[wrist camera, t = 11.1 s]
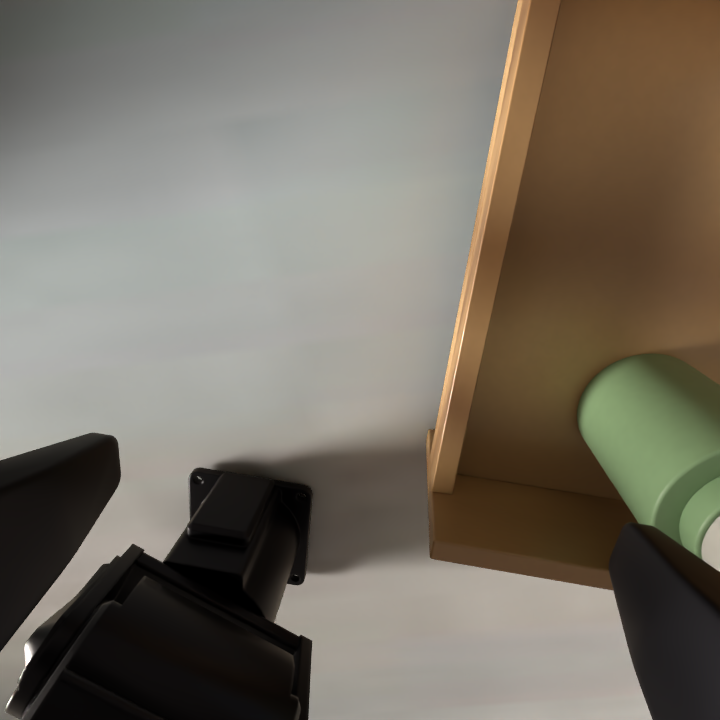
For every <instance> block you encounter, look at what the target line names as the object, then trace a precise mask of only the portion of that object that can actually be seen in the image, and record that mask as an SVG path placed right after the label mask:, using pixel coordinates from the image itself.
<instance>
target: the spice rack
mask: <svg viewBox="0 0 720 720" xmlns="http://www.w3.org/2000/svg"><path fill="white" fill-rule="evenodd" d="M640 354H664V355H669V356H672V357H675V358H678V359H680V360H682V361H684V362H686V363H687V364H689V365H690V366H692V367H693V368H695V369H696V370H698V371H700V372H701V373H703V374H704V375H706V376H707V377H709V378H710V379H712V380H713V381H715V382H716V383H718V384H719V385H720V0H518V3H517V8H516V14H515V19H514V24H513V29H512V34H511V39H510V45H509V50H508V55H507V60H506V65H505V71H504V76H503V81H502V86H501V91H500V96H499V102H498V107H497V112H496V117H495V122H494V127H493V133H492V138H491V143H490V148H489V153H488V159H487V164H486V169H485V174H484V179H483V184H482V190H481V195H480V200H479V205H478V210H477V216H476V221H475V226H474V231H473V236H472V241H471V247H470V252H469V257H468V262H467V267H466V272H465V278H464V283H463V288H462V293H461V298H460V304H459V309H458V314H457V319H456V324H455V329H454V335H453V340H452V345H451V350H450V355H449V361H448V366H447V371H446V376H445V381H444V386H443V392H442V397H441V402H440V407H439V412H438V417H437V423H436V428H435V430H432V429H429V430H428V434H427V440H426V456H427V487H428V518H429V549H430V558H431V559H435V560H441V561H447V562H452V563H458V564H464V565H470V566H475V567H481V568H487V569H493V570H499V571H504V572H510V573H516V574H522V575H527V576H533V577H539V578H545V579H551V580H556V581H562V582H568V583H574V584H579V585H585V586H591V587H597V588H603V589H608V590H613V586H612V582H611V579H610V574H609V559H610V556H611V554H612V551H613V549H614V546H615V544H616V541H617V539H618V536H619V534H620V531H621V529H622V527H623V526H624V525H625V524H626V523H629V522H634V523H638V522H637V520H636V519H635V517H634V515H633V514H632V512H631V511H630V509H629V508H628V506H627V505H626V503H625V502H624V500H623V499H622V497H621V496H620V494H619V492H618V491H617V489H616V488H615V486H614V485H613V483H612V482H611V480H610V479H609V477H608V476H607V474H606V472H605V471H604V469H603V468H602V466H601V465H600V463H599V462H598V460H597V459H596V457H595V456H594V454H593V453H592V451H591V449H590V448H589V446H588V445H587V443H586V442H585V440H584V439H583V437H582V435H581V433H580V431H579V428H578V423H577V408H578V404H579V400H580V398H581V395H582V393H583V391H584V389H585V388H586V386H587V385H588V383H589V382H590V381H591V380H592V379H593V378H594V377H595V376H596V375H597V374H598V373H599V372H600V371H601V370H603V369H604V368H606V367H607V366H609V365H610V364H612V363H614V362H616V361H618V360H621V359H623V358H626V357H630V356H634V355H640Z"/></svg>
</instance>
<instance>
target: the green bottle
mask: <svg viewBox="0 0 720 720" xmlns="http://www.w3.org/2000/svg"><path fill="white" fill-rule="evenodd" d="M577 423H578V428H579V431H580V433H581V435H582V437H583V439H584V440H585V442H586V443H587V445H588V446H589V448H590V449H591V451H592V453H593V454H594V456H595V457H596V459H597V460H598V462H599V463H600V465H601V466H602V468H603V469H604V471H605V472H606V474H607V476H608V477H609V479H610V480H611V482H612V483H613V485H614V486H615V488H616V489H617V491H618V492H619V494H620V496H621V497H622V499H623V500H624V502H625V503H626V505H627V506H628V508H629V509H630V511H631V512H632V514H633V515H634V517H635V519H636V520H637V522H638V523H640V524H646V525H651V526H654V527H656V528H658V529H659V530H660V531H662V532H663V533H665V534H666V535H668V536H669V537H670V538H672V539H673V540H675V541H676V542H678V543H679V544H680V545H682V546H683V547H685V548H686V549H688V550H689V551H690V552H692V553H693V554H695V555H696V556H698V557H699V558H700V559H702V560H703V561H705V562H706V563H708V564H709V565H710V566H712V567H713V568H715V569H716V570H718V571H719V572H720V385H719V384H718V383H716V382H715V381H713V380H712V379H710V378H709V377H707V376H706V375H704V374H703V373H701V372H700V371H698V370H696V369H695V368H693V367H692V366H690V365H689V364H687V363H686V362H684V361H682V360H680V359H678V358H675V357H672V356H669V355H664V354H640V355H634V356H630V357H626V358H623V359H621V360H618V361H616V362H614V363H612V364H610V365H609V366H607V367H606V368H604V369H603V370H601V371H600V372H599V373H598V374H597V375H596V376H595V377H594V378H593V379H592V380H591V381H590V382H589V383H588V385H587V386H586V388H585V389H584V391H583V393H582V395H581V398H580V400H579V404H578V408H577Z"/></svg>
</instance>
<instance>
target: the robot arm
mask: <svg viewBox="0 0 720 720" xmlns="http://www.w3.org/2000/svg"><path fill="white" fill-rule="evenodd" d="M197 476H199V477H201V478H202V480H200V479H199V478H198V477H197ZM120 477H121V470H120V459H119V448H118V442H117V440H116V438H115V437H113V436H111V435H105V434H99V433H89V434H86V435H82V436H79V437H76V438H72V439H69V440H66V441H63V442H59V443H56V444H53V445H50V446H46V447H43V448H40V449H36V450H33V451H30V452H27V453H23V454H20V455H17V456H14V457H10V458H7V459H4V460H0V652H1V650H2V649H3V648H4V646H5V645H6V644H7V642H8V641H9V640H10V639H11V637H12V636H13V635H14V633H15V632H16V631H17V630H18V628H19V627H20V626H21V624H22V623H23V622H24V621H25V619H26V618H27V617H28V615H29V614H30V613H31V612H32V610H33V609H34V608H35V606H36V605H37V604H38V603H39V601H40V600H41V599H42V597H43V596H44V595H45V594H46V592H47V591H48V590H49V588H50V587H51V586H52V585H53V583H54V582H55V581H56V579H57V578H58V577H59V575H60V574H61V573H62V571H63V570H64V569H65V567H66V566H67V565H68V563H69V562H70V561H71V559H72V558H73V556H74V555H75V553H76V552H77V550H78V549H79V547H80V546H81V544H82V542H83V541H84V539H85V538H86V536H87V535H88V533H89V531H90V530H91V528H92V527H93V525H94V524H95V522H96V520H97V519H98V517H99V516H100V514H101V512H102V511H103V509H104V508H105V506H106V505H107V503H108V501H109V500H110V498H111V497H112V495H113V494H114V492H115V490H116V489H117V487H118V485H119V482H120ZM300 493H302V494H304V495H305V496H306V497H302V496H300V495H299V494H300ZM312 496H313V493H312V490H311V488H309V487H308V486H306V485H302V484H296V483H290V482H284V481H278V480H272V479H267V478H261V477H255V476H249V475H243V474H237V473H231V472H223V471H217V470H211V469H205V468H196V469H194V470H193V472H192V473H191V474H190V475H189V504H190V522H189V523H188V525H187V527H186V529H185V530H184V532H183V533H182V534H181V536H180V537H179V539H178V540H177V542H176V543H175V545H174V546H173V548H172V549H171V551H170V552H169V554H168V555H167V557H166V558H165V560H164V561H163V563H162V562H160V561H159V560H157V559H155V558H153V557H151V556H149V555H148V554H146V553H144V549H142V548H140V547H138V546H136V545H135V544H132V545H131V546H130V547H129V549H128V550H127V551H126V552H125V553H124V554H123V555H122V556H121V557H119V556H116V557H115V558H114V559H113V560H112V562H111V563H110V564H103V565H102V566H101V567H100V568H99V569H98V571H97V572H96V573H95V574H94V576H93V577H92V578H91V579H90V580H89V582H88V583H87V584H86V585H85V586H84V587H83V589H82V590H81V591H80V592H79V593H78V594H77V595H76V596H75V597H74V598H73V599H72V600H71V601H70V602H69V603H67V604H66V605H65V606H64V607H63V608H61V609H60V610H59V611H58V612H56V613H55V614H54V615H53V616H52V617H50V618H49V619H48V620H47V621H46V622H44V623H43V624H42V625H41V626H39V627H38V628H37V629H36V630H35V632H34V633H33V634H32V635H31V637H30V638H29V639H28V641H27V642H26V644H25V646H24V650H25V669H24V670H23V672H22V674H21V676H20V678H19V680H18V684H19V685H18V687H17V688H16V690H15V691H14V693H13V695H12V696H11V698H10V700H9V702H8V704H7V706H6V708H5V711H4V712H6V713H8V714H10V715H12V716H14V717H16V718H18V719H20V720H308V714H309V693H310V673H311V653H312V641H311V640H310V639H308V638H306V637H304V636H302V635H300V636H297V635H295V634H293V633H292V632H290V631H288V630H286V629H284V628H282V627H280V626H279V625H277V624H275V623H274V621H275V618H276V615H277V612H278V609H279V606H280V603H281V600H282V597H283V593H284V590H285V587H286V584H292V585H300V584H302V583H303V582H304V579H305V575H306V566H307V554H308V543H309V531H310V519H311V508H312ZM609 574H610V579H611V582H612V586H613V590H614V594H615V598H616V602H617V606H618V610H619V613H620V617H621V621H622V625H623V629H624V633H625V637H626V641H627V644H628V648H629V652H630V655H631V659H632V662H633V666H634V669H635V672H636V675H637V678H638V680H639V683H640V686H641V689H642V692H643V694H644V697H645V700H646V703H647V705H648V708H649V711H650V713H651V716H652V719H653V720H720V572H719V571H718V570H716V569H715V568H713V567H712V566H710V565H709V564H708V563H706V562H705V561H703V560H702V559H700V558H699V557H698V556H696V555H695V554H693V553H692V552H690V551H689V550H688V549H686V548H685V547H683V546H682V545H680V544H679V543H678V542H676V541H675V540H673V539H672V538H670V537H669V536H668V535H666V534H665V533H663V532H662V531H660V530H659V529H658V528H656V527H654V526H651V525H646V524H640V523H634V522H629V523H626V524H625V525H624V526H623V527H622V529H621V531H620V534H619V536H618V539H617V541H616V544H615V546H614V549H613V551H612V554H611V556H610V559H609ZM295 575H297V576H295Z"/></svg>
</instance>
